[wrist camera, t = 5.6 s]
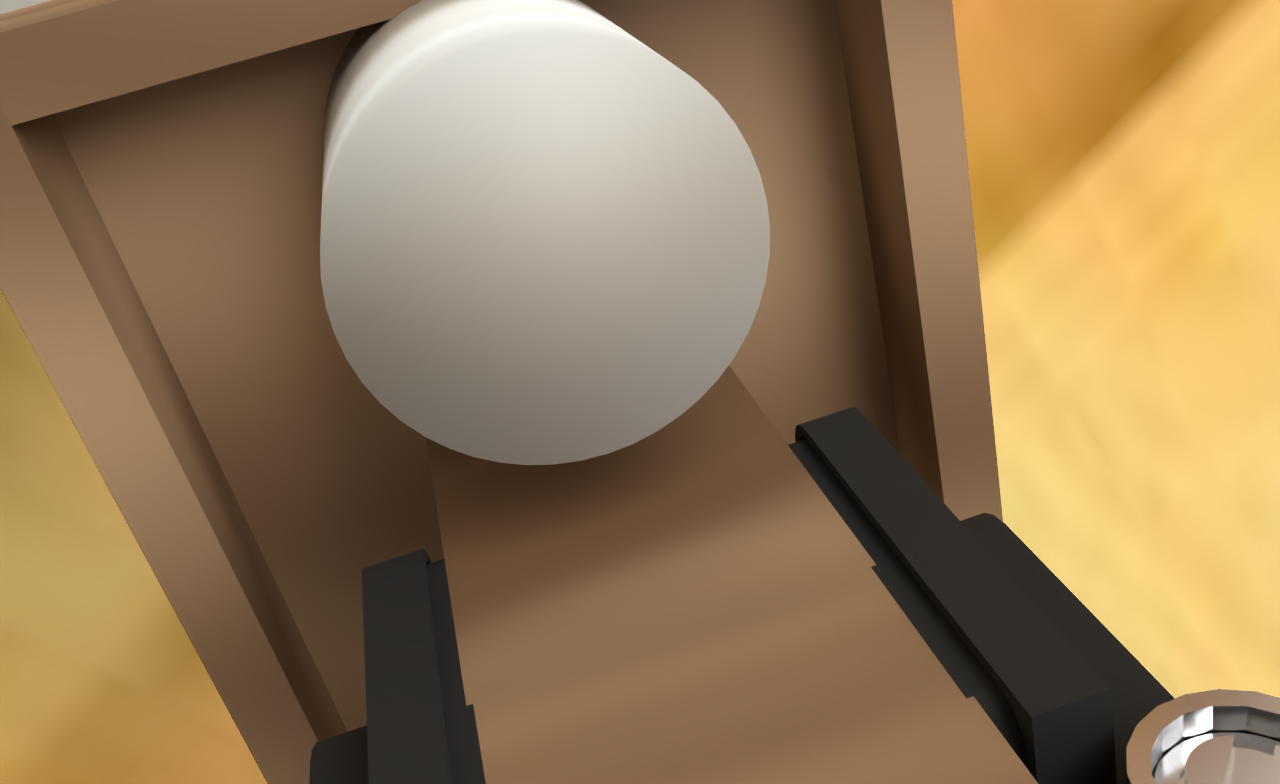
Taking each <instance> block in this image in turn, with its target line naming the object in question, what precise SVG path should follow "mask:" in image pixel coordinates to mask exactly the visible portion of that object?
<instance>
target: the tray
mask: <svg viewBox="0 0 1280 784" xmlns="http://www.w3.org/2000/svg"><path fill="white" fill-rule="evenodd" d="M0 289H1V290H2V292H3V294H4V296H5V298H6V300H7V302H8V303H9V305H10V307H11V309H12V311H13V313H14V314H15V316H16V318H17V320H18V322H19V324H20V326H21V327H22V329H23V331H24V333H25V335H26V337H27V339H28V340H29V342H30V344H31V346H32V348H33V350H34V352H35V353H36V355H37V357H38V359H39V361H40V363H41V364H42V366H43V368H44V370H45V372H46V374H47V376H48V377H49V379H50V381H51V383H52V385H53V387H54V389H55V390H56V392H57V394H58V396H59V398H60V400H61V402H62V403H63V405H64V407H65V409H66V411H67V413H68V414H69V416H70V418H71V420H72V422H73V424H74V426H75V427H76V429H77V431H78V433H79V435H80V437H81V439H82V440H83V442H84V444H85V446H86V448H87V450H88V452H89V453H90V455H91V457H92V459H93V461H94V463H95V464H96V466H97V468H98V470H99V472H100V474H101V476H102V477H103V479H104V481H105V483H106V485H107V487H108V489H109V490H110V492H111V494H112V496H113V498H114V500H115V502H116V503H117V505H118V507H119V509H120V511H121V513H122V514H123V516H124V518H125V520H126V522H127V524H128V526H129V527H130V529H131V531H132V533H133V535H134V537H135V539H136V540H137V542H138V544H139V546H140V548H141V550H142V552H143V553H144V555H145V557H146V559H147V561H148V563H149V564H150V566H151V568H152V570H153V572H154V574H155V576H156V577H157V579H158V581H159V583H160V585H161V587H162V589H163V590H164V592H165V594H166V596H167V598H168V600H169V602H170V603H171V605H172V607H173V609H174V611H175V613H176V614H177V616H178V618H179V620H180V622H181V624H182V626H183V627H184V629H185V631H186V633H187V635H188V637H189V639H190V640H191V642H192V644H193V646H194V648H195V650H196V652H197V653H198V655H199V657H200V659H201V661H202V663H203V664H204V666H205V668H206V670H207V672H208V674H209V676H210V677H211V679H212V681H213V683H214V685H215V687H216V689H217V690H218V692H219V694H220V696H221V698H222V700H223V702H224V703H225V705H226V707H227V709H228V711H229V713H230V714H231V716H232V718H233V720H234V722H235V724H236V726H237V727H238V729H239V731H240V733H241V735H242V737H243V739H244V740H245V742H246V744H247V746H248V748H249V750H250V752H251V753H252V755H253V757H254V759H255V761H256V763H257V764H258V766H259V768H260V770H261V772H262V774H263V776H264V777H265V779H266V781H267V783H268V784H309V778H310V759H311V752H312V748H313V747H314V745H315V744H316V742H319V741H322V740H325V739H328V738H331V737H334V736H337V735H340V734H343V733H346V732H348V731H351V730H354V729H357V728H360V727H363V726H366V725H367V713H366V683H365V654H364V624H363V594H362V570H363V569H364V568H366V567H369V566H372V565H375V564H378V563H381V562H384V561H387V560H390V559H393V558H396V557H399V556H402V555H405V554H408V553H411V552H414V551H417V550H420V549H424V550H425V551H426V552H427V554H428V556H429V558H430V560H431V563H433V562H436V561H439V560H442V559H445V566H446V572H447V579H448V586H449V593H450V599H451V606H452V613H453V619H454V626H455V633H456V639H457V646H458V653H459V659H460V666H461V673H462V680H463V686H464V693H465V700H466V706H468V705H471V704H473V706H474V712H475V719H476V725H477V731H478V738H479V744H480V750H481V757H482V763H483V769H484V776H485V782H486V784H1038V783H1037V781H1036V780H1035V779H1034V777H1033V776H1032V775H1031V773H1030V772H1029V771H1028V769H1027V768H1026V767H1025V765H1024V764H1023V762H1022V761H1021V760H1020V758H1019V757H1018V756H1017V754H1016V753H1015V752H1014V750H1013V749H1012V748H1011V746H1010V745H1009V744H1008V742H1007V741H1006V739H1005V738H1004V737H1003V735H1002V734H1001V733H1000V731H999V730H998V729H997V727H996V726H995V725H994V723H993V722H992V721H991V719H990V718H989V716H988V715H987V714H986V712H985V711H984V710H983V708H982V707H981V706H980V704H979V703H978V702H977V700H976V699H975V698H974V696H973V697H970V698H967V699H966V697H965V696H964V694H963V693H962V692H961V690H960V689H959V688H958V686H957V685H956V683H955V682H954V681H953V679H952V678H951V677H950V675H949V674H948V672H947V671H946V670H945V668H944V667H943V666H942V664H941V663H940V661H939V660H938V659H937V657H936V656H935V655H934V653H933V652H932V650H931V649H930V648H929V646H928V645H927V644H926V642H925V641H924V639H923V638H922V637H921V635H920V634H919V633H918V631H917V630H916V628H915V627H914V626H913V624H912V623H911V622H910V620H909V619H908V617H907V616H906V615H905V613H904V612H903V611H902V609H901V608H900V606H899V605H898V604H897V602H896V601H895V600H894V598H893V597H892V595H891V594H890V593H889V591H888V590H887V589H886V587H885V586H884V584H883V583H882V582H881V580H880V579H879V578H878V576H877V575H876V573H875V572H874V571H873V569H872V568H871V567H872V566H875V565H876V564H875V562H874V561H873V560H872V558H871V557H870V556H869V554H868V553H867V551H866V550H865V549H864V547H863V546H862V545H861V543H860V542H859V541H858V539H857V538H856V537H855V535H854V534H853V533H852V531H851V530H850V528H849V527H848V526H847V524H846V523H845V522H844V520H843V519H842V518H841V516H840V515H839V514H838V512H837V511H836V510H835V508H834V507H833V506H832V504H831V503H830V501H829V500H828V499H827V497H826V496H825V495H824V493H823V492H822V491H821V489H820V488H819V487H818V485H817V484H816V483H815V481H814V480H813V478H812V477H811V476H810V474H809V473H808V472H807V470H806V469H805V468H804V466H803V465H802V464H801V462H800V461H799V460H798V458H797V457H796V455H795V454H794V453H793V451H792V450H791V449H790V447H789V446H788V445H789V444H792V443H795V442H796V441H795V428H796V426H797V425H799V424H802V423H805V422H808V421H811V420H814V419H817V418H820V417H823V416H826V415H829V414H832V413H835V412H838V411H841V410H844V409H847V408H850V407H856V408H857V409H858V410H859V411H861V412H862V413H863V415H864V416H865V417H866V418H867V419H868V420H869V421H870V422H871V423H872V424H873V426H874V427H875V428H876V429H877V430H878V431H879V432H880V433H881V434H882V435H883V437H884V438H885V439H886V440H887V441H888V442H889V443H890V444H891V445H892V446H893V448H894V449H895V450H896V451H897V452H898V453H899V454H900V455H901V456H902V457H903V459H904V460H905V461H906V462H907V463H908V464H909V465H910V466H911V467H912V468H913V470H914V471H915V472H916V473H917V474H918V475H919V476H920V477H921V478H922V479H923V481H924V482H925V483H926V484H927V485H928V486H929V487H930V488H931V489H932V490H933V492H934V493H935V494H936V495H937V496H938V497H939V498H940V499H941V500H942V501H943V503H944V504H945V505H946V506H947V507H948V508H949V509H950V510H951V511H952V512H953V514H954V515H955V516H956V517H957V518H958V519H959V520H960V521H962V520H965V519H967V518H970V517H973V516H976V515H979V514H982V513H988V514H993V515H995V516H996V517H997V518H998V519H1000V520H1001V521H1002V522H1003V519H1002V508H1001V498H1000V488H999V477H998V467H997V457H996V447H995V436H994V426H993V416H992V406H991V395H990V385H989V375H988V364H987V354H986V344H985V334H984V323H983V313H982V303H981V293H980V282H979V272H978V262H977V252H976V241H975V231H974V221H973V210H972V200H971V190H970V180H969V169H968V159H967V149H966V139H965V128H964V118H963V108H962V97H961V87H960V77H959V67H958V56H957V46H956V36H955V26H954V15H953V5H952V0H50V1H47V2H43V3H39V4H36V5H32V6H28V7H25V8H21V9H17V10H14V11H10V12H6V13H3V14H0Z"/></svg>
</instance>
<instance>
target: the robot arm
mask: <svg viewBox="0 0 1280 784" xmlns="http://www.w3.org/2000/svg"><path fill="white" fill-rule="evenodd" d="M795 441H796V442H795V443H792V444H789V445H788V446H789V447H790V449H791V450H792V451H793V453H794V454H795V455H796V457H797V458H798V460H799V461H800V462H801V464H802V465H803V466H804V468H805V469H806V470H807V472H808V473H809V474H810V476H811V477H812V478H813V480H814V481H815V483H816V484H817V485H818V487H819V488H820V489H821V491H822V492H823V493H824V495H825V496H826V497H827V499H828V500H829V501H830V503H831V504H832V506H833V507H834V508H835V510H836V511H837V512H838V514H839V515H840V516H841V518H842V519H843V520H844V522H845V523H846V524H847V526H848V527H849V528H850V530H851V531H852V533H853V534H854V535H855V537H856V538H857V539H858V541H859V542H860V543H861V545H862V546H863V547H864V549H865V550H866V551H867V553H868V554H869V556H870V557H871V558H872V560H873V561H874V562H875V564H876V565H875V566H872V567H871V568H872V569H873V571H874V572H875V573H876V575H877V576H878V578H879V579H880V580H881V582H882V583H883V584H884V586H885V587H886V589H887V590H888V591H889V593H890V594H891V595H892V597H893V598H894V600H895V601H896V602H897V604H898V605H899V606H900V608H901V609H902V611H903V612H904V613H905V615H906V616H907V617H908V619H909V620H910V622H911V623H912V624H913V626H914V627H915V628H916V630H917V631H918V633H919V634H920V635H921V637H922V638H923V639H924V641H925V642H926V644H927V645H928V646H929V648H930V649H931V650H932V652H933V653H934V655H935V656H936V657H937V659H938V660H939V661H940V663H941V664H942V666H943V667H944V668H945V670H946V671H947V672H948V674H949V675H950V677H951V678H952V679H953V681H954V682H955V683H956V685H957V686H958V688H959V689H960V690H961V692H962V693H963V694H964V696H965V697H966V699H967V698H970V697H973V696H974V698H975V699H976V700H977V702H978V703H979V704H980V706H981V707H982V708H983V710H984V711H985V712H986V714H987V715H988V716H989V718H990V719H991V721H992V722H993V723H994V725H995V726H996V727H997V729H998V730H999V731H1000V733H1001V734H1002V735H1003V737H1004V738H1005V739H1006V741H1007V742H1008V744H1009V745H1010V746H1011V748H1012V749H1013V750H1014V752H1015V753H1016V754H1017V756H1018V757H1019V758H1020V760H1021V761H1022V762H1023V764H1024V765H1025V767H1026V768H1027V769H1028V771H1029V772H1030V773H1031V775H1032V776H1033V777H1034V779H1035V780H1036V781H1037V783H1038V784H1280V698H1278V697H1274V696H1270V695H1266V694H1263V693H1259V692H1254V691H1238V690H1223V689H1217V690H1210V691H1204V692H1197V693H1190V694H1185V695H1182V696H1180V697H1178V698H1175V699H1174V698H1173V696H1172V695H1171V694H1170V693H1169V692H1168V691H1167V690H1166V689H1165V688H1164V687H1163V686H1162V685H1161V684H1160V683H1159V682H1158V681H1157V680H1156V679H1155V678H1154V677H1153V676H1152V675H1151V674H1150V673H1149V672H1148V671H1147V670H1146V669H1145V668H1144V667H1143V666H1142V665H1141V664H1140V662H1139V661H1138V660H1137V659H1136V658H1135V657H1134V656H1133V655H1132V654H1131V653H1130V652H1129V651H1128V650H1127V649H1126V648H1125V647H1124V646H1123V645H1122V644H1121V643H1120V642H1119V641H1118V640H1117V639H1116V638H1115V637H1114V636H1113V635H1112V634H1111V633H1110V632H1109V631H1108V629H1107V628H1106V627H1105V626H1104V625H1103V624H1102V623H1101V622H1100V621H1099V620H1098V619H1097V618H1096V617H1095V616H1094V615H1093V614H1092V613H1091V612H1090V611H1089V610H1088V609H1087V608H1086V607H1085V606H1084V605H1083V604H1082V603H1081V602H1080V601H1079V600H1078V599H1077V598H1076V596H1075V595H1074V594H1073V593H1072V592H1071V591H1070V590H1069V589H1068V588H1067V587H1066V586H1065V585H1064V584H1063V583H1062V582H1061V581H1060V580H1059V579H1058V578H1057V577H1056V576H1055V575H1054V574H1053V573H1052V572H1051V571H1050V570H1049V569H1048V568H1047V567H1046V566H1045V565H1044V564H1043V562H1042V561H1041V560H1040V559H1039V558H1038V557H1037V556H1036V555H1035V554H1034V553H1033V552H1032V551H1031V550H1030V549H1029V548H1028V547H1027V546H1026V545H1025V544H1024V543H1023V542H1022V541H1021V540H1020V539H1019V538H1018V537H1017V536H1016V535H1015V534H1014V533H1013V532H1012V531H1011V529H1010V528H1009V527H1008V526H1007V525H1006V524H1005V523H1003V522H1002V521H1001V520H1000V519H998V518H997V517H996V516H995V515H993V514H988V513H982V514H979V515H976V516H973V517H970V518H967V519H965V520H962V521H960V520H959V519H958V518H957V517H956V516H955V515H954V514H953V512H952V511H951V510H950V509H949V508H948V507H947V506H946V505H945V504H944V503H943V501H942V500H941V499H940V498H939V497H938V496H937V495H936V494H935V493H934V492H933V490H932V489H931V488H930V487H929V486H928V485H927V484H926V483H925V482H924V481H923V479H922V478H921V477H920V476H919V475H918V474H917V473H916V472H915V471H914V470H913V468H912V467H911V466H910V465H909V464H908V463H907V462H906V461H905V460H904V459H903V457H902V456H901V455H900V454H899V453H898V452H897V451H896V450H895V449H894V448H893V446H892V445H891V444H890V443H889V442H888V441H887V440H886V439H885V438H884V437H883V435H882V434H881V433H880V432H879V431H878V430H877V429H876V428H875V427H874V426H873V424H872V423H871V422H870V421H869V420H868V419H867V418H866V417H865V416H864V415H863V413H862V412H861V411H859V410H858V409H857V408H856V407H850V408H847V409H844V410H841V411H838V412H835V413H832V414H829V415H826V416H823V417H820V418H817V419H814V420H811V421H808V422H805V423H802V424H799V425H797V426H796V428H795ZM362 594H363V624H364V654H365V683H366V713H367V725H366V726H363V727H360V728H357V729H354V730H351V731H348V732H346V733H343V734H340V735H337V736H334V737H331V738H328V739H325V740H322V741H319V742H316V744H315V745H314V747H313V748H312V752H311V759H310V778H309V784H486V782H485V776H484V769H483V763H482V757H481V750H480V744H479V738H478V731H477V725H476V719H475V712H474V706H473V704H471V705H468V706H466V700H465V693H464V686H463V680H462V673H461V666H460V659H459V653H458V646H457V639H456V633H455V626H454V619H453V613H452V606H451V599H450V593H449V586H448V579H447V572H446V566H445V559H442V560H439V561H436V562H433V563H431V560H430V558H429V556H428V554H427V552H426V551H425V550H424V549H420V550H417V551H414V552H411V553H408V554H405V555H402V556H399V557H396V558H393V559H390V560H387V561H384V562H381V563H378V564H375V565H372V566H369V567H366V568H364V569H363V570H362Z"/></svg>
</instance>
